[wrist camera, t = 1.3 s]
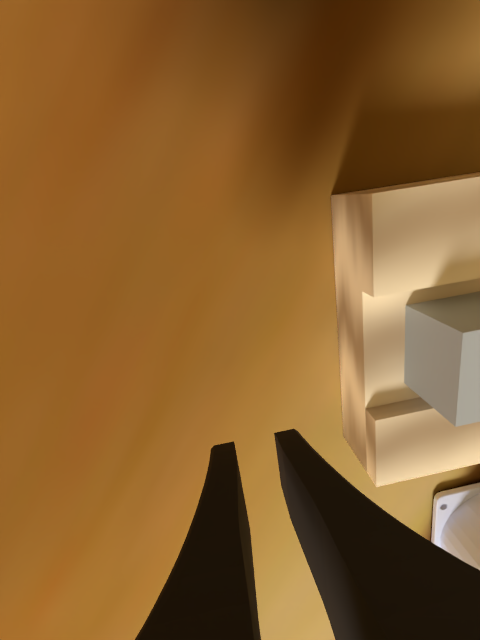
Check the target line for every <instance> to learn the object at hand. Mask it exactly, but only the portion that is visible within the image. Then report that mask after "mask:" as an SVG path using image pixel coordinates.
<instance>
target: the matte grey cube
mask: <svg viewBox="0 0 480 640" xmlns="http://www.w3.org/2000/svg"><path fill="white" fill-rule="evenodd" d="M404 383H405V384H406V385H407V386H408V387H409V388H411V389H412V390H413V391H414V392H415V393H416V394H418V395H419V396H420V397H421V398H422V399H423V400H425V401H426V402H427V403H428V404H429V405H430V406H432V407H433V408H434V409H435V410H436V411H438V412H439V413H440V414H441V415H442V416H443V417H445V418H446V419H447V420H448V421H449V422H450V423H452V424H453V425H454V426H455V427H457V426H462V425H466V424H471V423H475V422H480V291H479V292H474V293H468V294H463V295H457V296H452V297H447V298H441V299H436V300H431V301H425V302H420V303H415V304H409V305H406V306H405V361H404Z"/></svg>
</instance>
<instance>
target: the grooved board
mask: <svg viewBox="0 0 480 640" xmlns="http://www.w3.org/2000/svg"><path fill="white" fill-rule="evenodd" d="M331 206H332V225H333V244H334V263H335V282H336V301H337V320H338V339H339V358H340V377H341V397H342V416H343V435H344V438H345V439H346V441H347V443H348V444H349V446H350V447H351V449H352V450H353V452H354V453H355V455H356V456H357V458H358V459H359V461H360V463H361V464H362V466H363V467H364V469H365V470H366V472H367V473H368V475H369V476H370V478H371V479H372V481H373V483H374V484H375V486H376V487H379V486H383V485H387V484H392V483H396V482H400V481H405V480H409V479H414V478H418V477H422V476H427V475H431V474H436V473H440V472H444V471H449V470H453V469H458V468H462V467H466V466H471V465H475V464H479V463H480V422H475V423H471V424H466V425H462V426H457V427H455V426H454V425H453V424H452V423H450V422H449V421H448V420H447V419H446V418H445V417H443V416H442V415H441V414H440V413H439V412H438V411H436V410H435V409H434V408H433V407H432V406H430V405H429V404H428V403H427V402H426V401H425V400H423V399H422V398H421V397H420V396H419V395H418V394H416V393H415V392H414V391H413V390H412V389H411V388H409V387H408V386H407V385H406V384H405V383H404V361H405V306H406V305H409V304H415V303H420V302H425V301H431V300H436V299H441V298H447V297H452V296H457V295H463V294H468V293H474V292H479V291H480V172H476V173H470V174H463V175H457V176H451V177H444V178H438V179H432V180H425V181H419V182H412V183H406V184H400V185H393V186H387V187H381V188H374V189H368V190H362V191H355V192H349V193H343V194H336V195H331Z"/></svg>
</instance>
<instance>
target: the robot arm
mask: <svg viewBox="0 0 480 640" xmlns="http://www.w3.org/2000/svg"><path fill="white" fill-rule="evenodd" d="M274 434H275V441H276V449H277V456H278V464H279V471H280V479H281V486H282V489H283V493H284V497H285V500H286V504H287V507H288V511H289V514H290V518H291V521H292V524H293V526H294V529H295V531H296V534H297V536H298V539H299V542H300V544H301V547H302V549H303V552H304V554H305V557H306V559H307V562H308V565H309V567H310V570H311V572H312V575H313V577H314V580H315V582H316V585H317V588H318V590H319V593H320V595H321V598H322V600H323V603H324V606H325V609H326V612H327V614H328V617H329V620H330V623H331V627H332V630H333V633H334V636H335V640H480V483H476V484H471V485H467V486H463V487H458V488H454V489H450V490H446V491H441V492H438V493H437V494H436V495H435V496H434V503H433V520H432V537H431V542H430V541H428V540H427V539H425V538H424V537H422V536H420V535H419V534H417V533H416V532H414V531H413V530H411V529H410V528H408V527H407V526H405V525H404V524H402V523H401V522H400V521H398V520H397V519H395V518H394V517H393V516H391V515H390V514H388V513H387V512H386V511H384V510H383V509H382V508H380V507H379V506H378V505H376V504H375V503H374V502H372V501H371V500H370V499H369V498H367V497H366V496H365V495H364V494H362V493H361V492H360V491H359V490H358V489H356V488H355V487H354V486H353V485H352V484H350V483H349V482H348V481H347V480H346V479H345V478H343V477H342V476H341V475H340V474H339V473H338V472H337V471H336V470H335V469H334V468H333V467H332V466H330V465H329V464H328V463H327V462H326V461H325V460H324V459H323V458H322V457H321V456H320V455H319V454H318V453H317V452H316V451H315V450H314V449H313V448H312V447H311V446H310V445H309V444H308V442H307V441H306V440H305V439H304V438H303V437H302V436H301V435H300V434H299V432H298V431H296V430H295V429H291V430H286V431H281V432H277V433H274ZM135 640H261V637H260V629H259V621H258V611H257V600H256V590H255V579H254V568H253V557H252V546H251V535H250V527H249V521H248V516H247V510H246V505H245V499H244V494H243V488H242V483H241V477H240V472H239V466H238V461H237V455H236V450H235V445H234V442H229V443H224V444H220V445H215V446H213V448H212V449H211V454H210V461H209V467H208V471H207V475H206V479H205V483H204V487H203V490H202V493H201V497H200V500H199V503H198V506H197V509H196V512H195V515H194V518H193V520H192V523H191V526H190V529H189V531H188V534H187V537H186V539H185V542H184V544H183V546H182V549H181V551H180V553H179V556H178V558H177V560H176V562H175V565H174V567H173V569H172V571H171V573H170V575H169V578H168V580H167V581H166V583H165V585H164V587H163V589H162V591H161V593H160V595H159V597H158V599H157V601H156V603H155V605H154V607H153V609H152V611H151V613H150V614H149V616H148V618H147V620H146V622H145V624H144V625H143V627H142V629H141V630H140V632H139V634H138V635H137V637H136V639H135Z"/></svg>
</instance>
